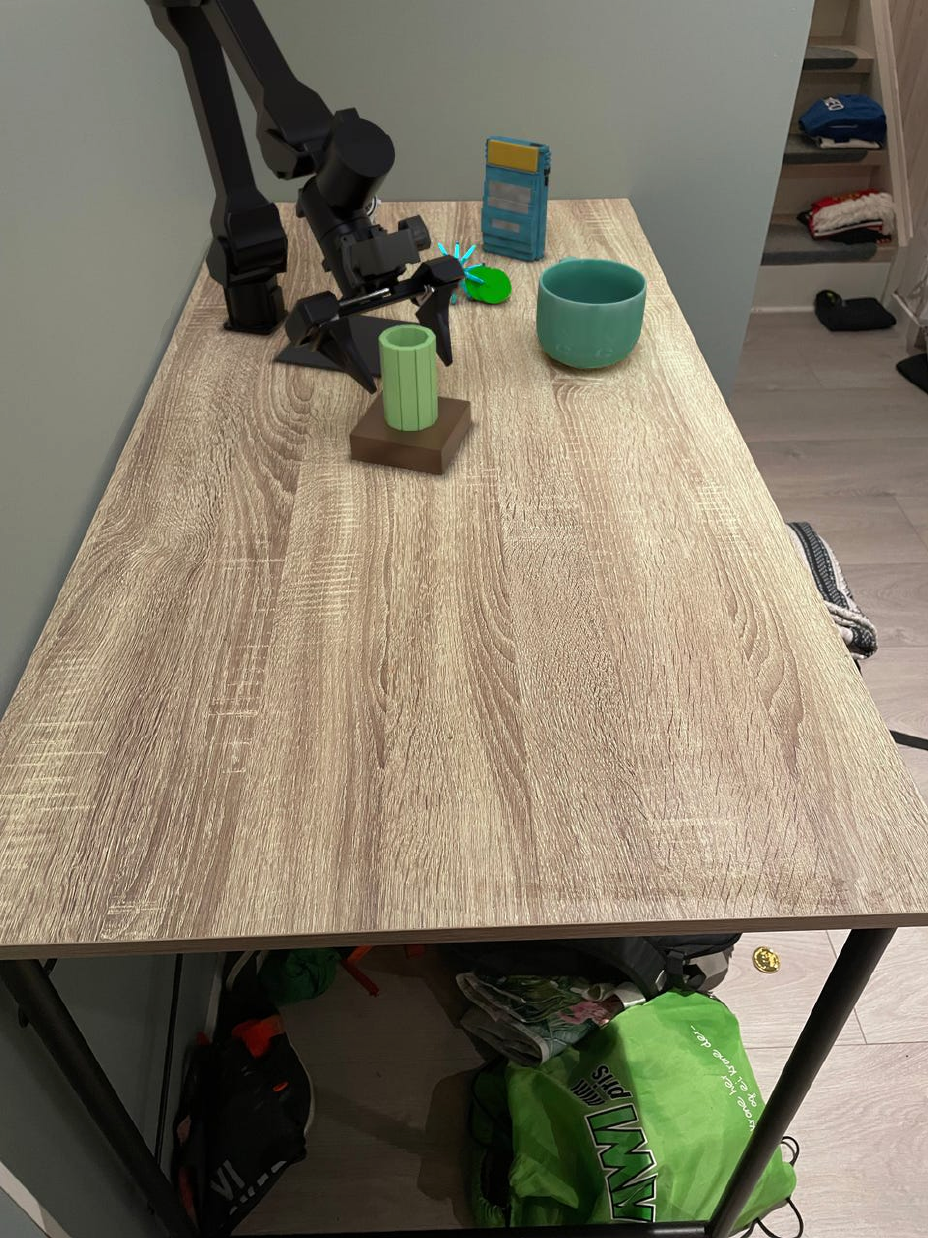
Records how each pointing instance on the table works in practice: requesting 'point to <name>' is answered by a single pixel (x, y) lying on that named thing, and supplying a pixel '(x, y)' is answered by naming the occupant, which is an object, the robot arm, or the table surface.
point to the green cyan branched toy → (482, 280)
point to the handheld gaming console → (515, 198)
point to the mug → (590, 311)
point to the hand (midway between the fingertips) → (412, 378)
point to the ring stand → (411, 438)
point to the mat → (364, 337)
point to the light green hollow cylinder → (409, 377)
